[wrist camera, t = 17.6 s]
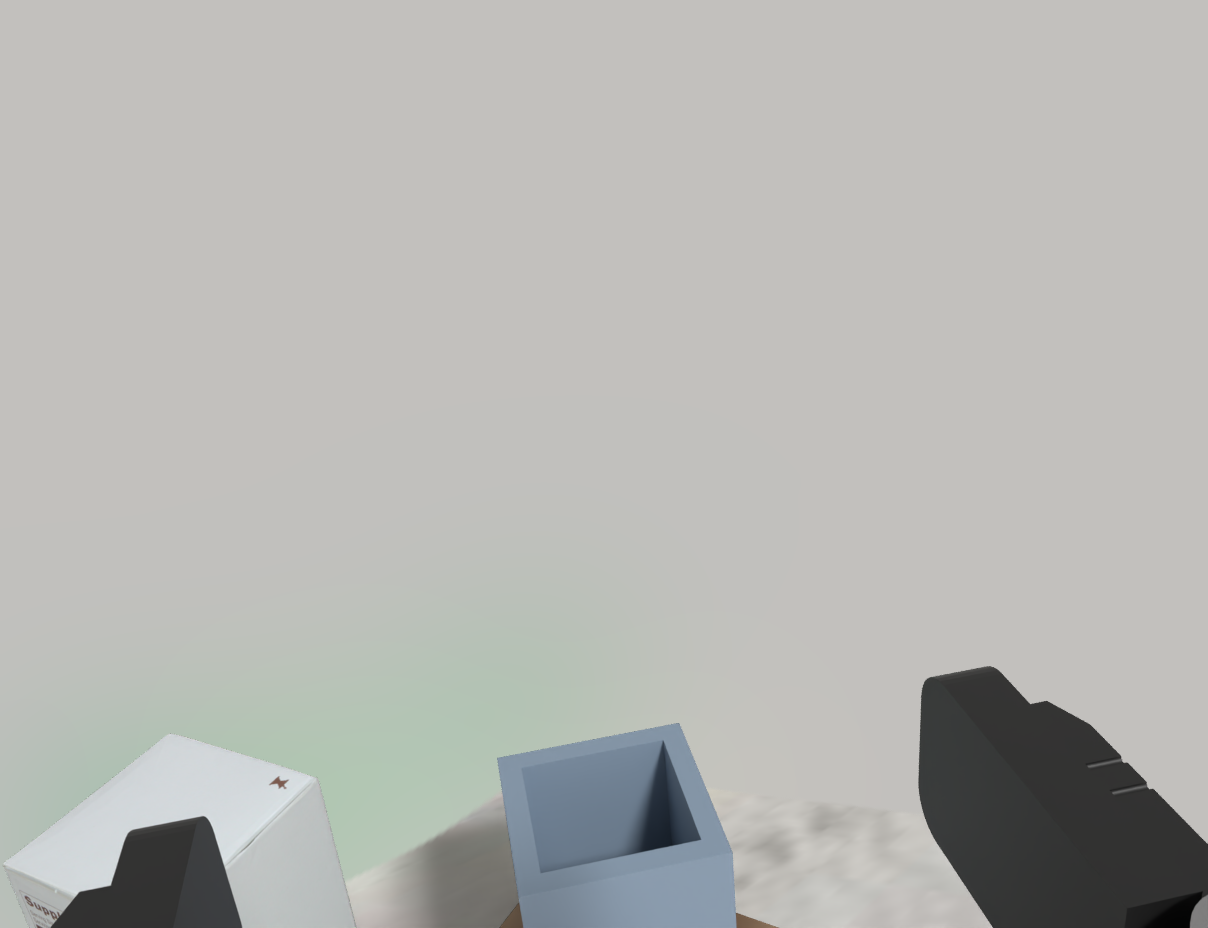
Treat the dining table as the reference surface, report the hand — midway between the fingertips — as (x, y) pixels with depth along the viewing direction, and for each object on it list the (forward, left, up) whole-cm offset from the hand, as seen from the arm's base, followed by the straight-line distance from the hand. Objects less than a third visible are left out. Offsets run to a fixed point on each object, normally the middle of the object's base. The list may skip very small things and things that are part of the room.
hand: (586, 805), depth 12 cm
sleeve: (-9, +14, -26) cm, 31 cm away
